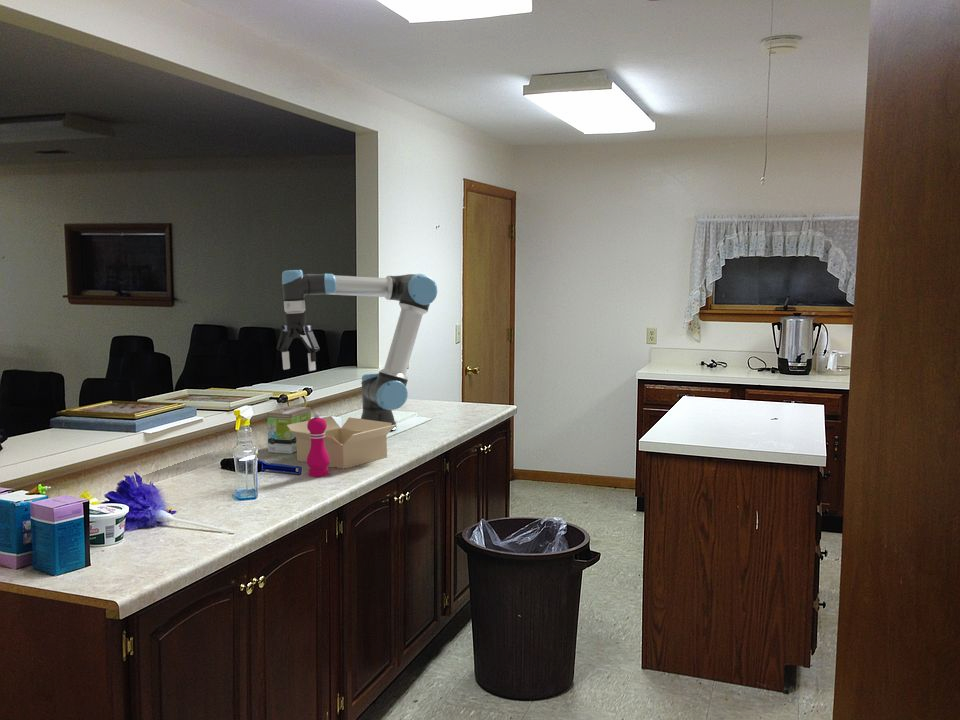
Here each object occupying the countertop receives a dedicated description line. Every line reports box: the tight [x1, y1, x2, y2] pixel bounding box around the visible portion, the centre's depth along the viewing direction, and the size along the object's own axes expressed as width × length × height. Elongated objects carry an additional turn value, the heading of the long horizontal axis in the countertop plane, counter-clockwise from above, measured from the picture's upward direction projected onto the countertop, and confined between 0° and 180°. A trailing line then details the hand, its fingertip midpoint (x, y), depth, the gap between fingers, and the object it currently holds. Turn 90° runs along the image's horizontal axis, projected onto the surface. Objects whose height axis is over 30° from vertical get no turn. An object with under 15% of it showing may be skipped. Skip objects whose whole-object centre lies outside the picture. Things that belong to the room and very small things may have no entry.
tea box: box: [266, 406, 312, 455], centre depth 306 cm, size 15×10×15 cm
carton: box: [287, 415, 397, 470], centre depth 288 cm, size 28×32×12 cm
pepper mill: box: [306, 412, 330, 478], centre depth 266 cm, size 7×7×20 cm
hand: (299, 369), depth 310 cm, fingers open, 13 cm apart
